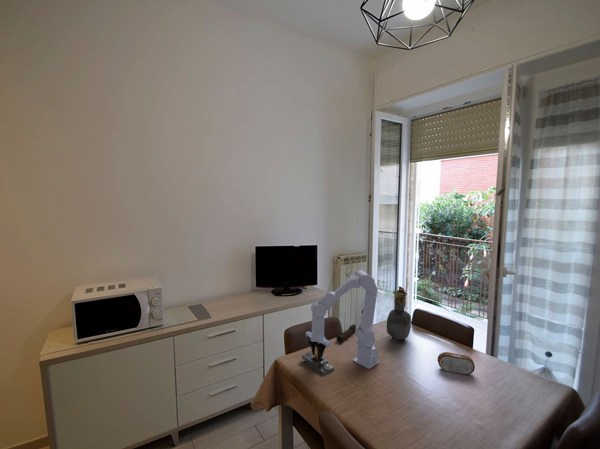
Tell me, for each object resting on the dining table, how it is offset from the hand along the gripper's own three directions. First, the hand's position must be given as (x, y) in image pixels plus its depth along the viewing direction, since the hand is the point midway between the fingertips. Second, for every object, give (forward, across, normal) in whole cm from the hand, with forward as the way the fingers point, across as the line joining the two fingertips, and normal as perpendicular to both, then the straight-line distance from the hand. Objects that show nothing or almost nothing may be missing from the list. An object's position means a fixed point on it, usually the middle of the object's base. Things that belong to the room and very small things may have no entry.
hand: (317, 356), depth 140 cm
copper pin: (+3, 0, 0) cm, 3 cm away
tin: (+5, +44, +45) cm, 63 cm away
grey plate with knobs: (+5, 0, 0) cm, 5 cm away
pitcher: (+5, +10, +54) cm, 55 cm away
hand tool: (+5, -11, +34) cm, 36 cm away
